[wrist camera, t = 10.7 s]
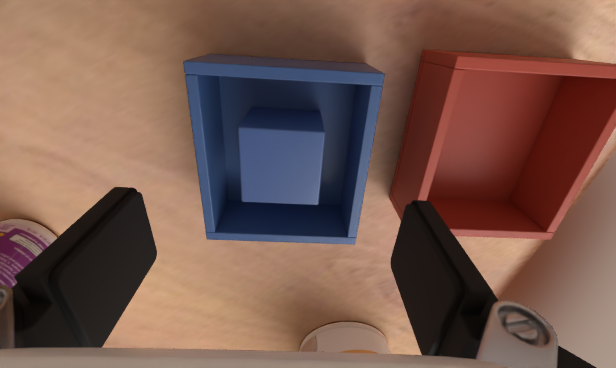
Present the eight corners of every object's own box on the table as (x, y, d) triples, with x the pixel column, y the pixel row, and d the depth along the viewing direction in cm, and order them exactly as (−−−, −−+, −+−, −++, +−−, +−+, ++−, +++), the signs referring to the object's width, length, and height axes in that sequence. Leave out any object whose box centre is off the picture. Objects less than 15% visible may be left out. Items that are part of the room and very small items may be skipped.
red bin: (422, 49, 18) (457, 55, 14) (574, 59, 18) (650, 67, 14) (389, 198, 23) (407, 234, 19) (508, 203, 23) (551, 239, 19)
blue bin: (209, 53, 18) (182, 60, 14) (366, 63, 18) (385, 73, 14) (223, 202, 23) (206, 239, 19) (346, 207, 23) (355, 244, 19)
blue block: (251, 106, 19) (237, 127, 15) (320, 110, 19) (325, 131, 15) (253, 169, 21) (241, 202, 17) (315, 172, 21) (318, 205, 17)
